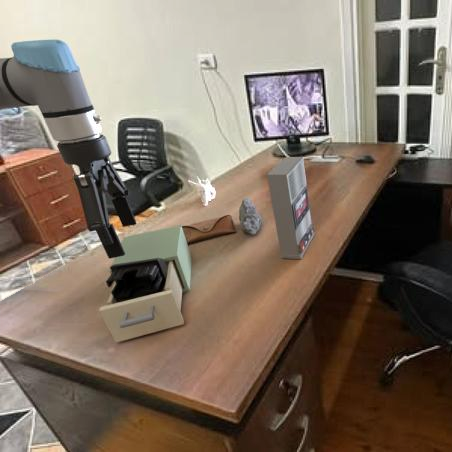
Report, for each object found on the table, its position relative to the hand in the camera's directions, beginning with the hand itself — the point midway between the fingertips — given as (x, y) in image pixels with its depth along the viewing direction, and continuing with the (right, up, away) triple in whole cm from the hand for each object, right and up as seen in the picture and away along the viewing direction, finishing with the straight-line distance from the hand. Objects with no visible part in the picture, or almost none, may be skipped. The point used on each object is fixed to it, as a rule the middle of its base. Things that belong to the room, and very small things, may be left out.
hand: (124, 239), depth 73 cm
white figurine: (-8, +13, +67) cm, 69 cm away
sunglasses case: (+3, 0, +41) cm, 41 cm away
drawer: (+2, -18, +7) cm, 19 cm away
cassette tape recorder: (+33, -3, +31) cm, 45 cm away
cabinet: (-3, -12, +21) cm, 24 cm away
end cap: (+1, -12, +5) cm, 13 cm away
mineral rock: (+16, +2, +43) cm, 45 cm away
